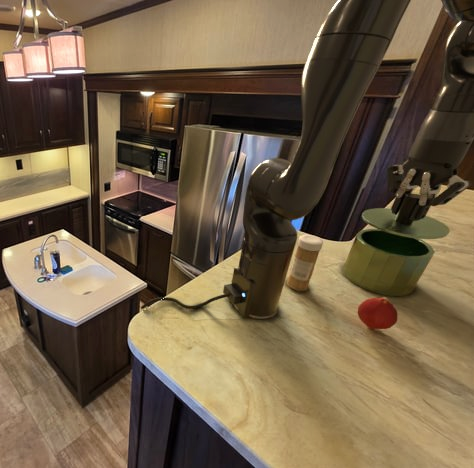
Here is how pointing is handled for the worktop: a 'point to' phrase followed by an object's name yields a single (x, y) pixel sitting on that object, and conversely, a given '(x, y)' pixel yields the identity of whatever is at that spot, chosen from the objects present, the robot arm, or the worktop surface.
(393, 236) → the bin
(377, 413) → the worktop surface
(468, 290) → the worktop surface
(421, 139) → the robot arm
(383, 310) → the onion
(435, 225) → the bin lid
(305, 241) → the sprinkles bottle
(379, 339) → the worktop surface
